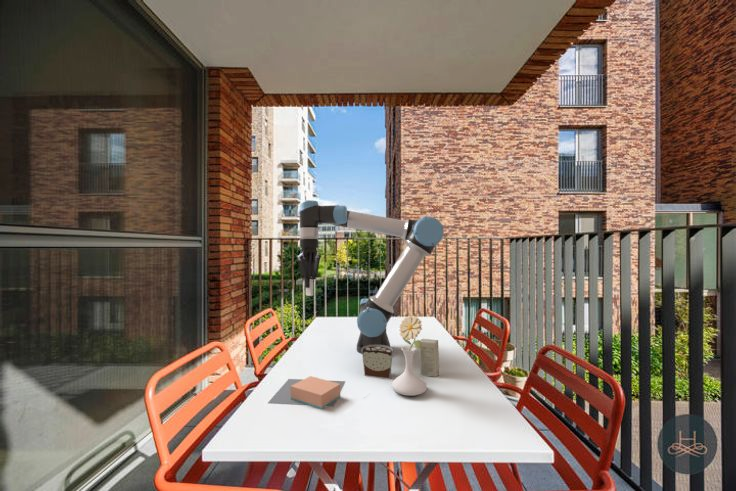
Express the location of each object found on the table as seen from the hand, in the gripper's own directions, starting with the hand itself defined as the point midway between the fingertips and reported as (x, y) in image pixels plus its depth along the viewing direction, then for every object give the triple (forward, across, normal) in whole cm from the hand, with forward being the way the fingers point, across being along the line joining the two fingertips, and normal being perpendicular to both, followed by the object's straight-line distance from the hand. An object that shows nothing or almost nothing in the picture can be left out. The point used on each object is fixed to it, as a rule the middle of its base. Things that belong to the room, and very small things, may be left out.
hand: (309, 295), depth 138 cm
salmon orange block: (+24, +27, +20) cm, 41 cm away
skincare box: (+27, -10, +48) cm, 56 cm away
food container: (+27, -1, +33) cm, 42 cm away
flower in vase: (+27, +7, +49) cm, 56 cm away
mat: (+26, +24, +21) cm, 42 cm away
